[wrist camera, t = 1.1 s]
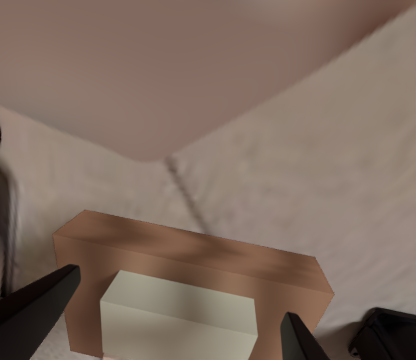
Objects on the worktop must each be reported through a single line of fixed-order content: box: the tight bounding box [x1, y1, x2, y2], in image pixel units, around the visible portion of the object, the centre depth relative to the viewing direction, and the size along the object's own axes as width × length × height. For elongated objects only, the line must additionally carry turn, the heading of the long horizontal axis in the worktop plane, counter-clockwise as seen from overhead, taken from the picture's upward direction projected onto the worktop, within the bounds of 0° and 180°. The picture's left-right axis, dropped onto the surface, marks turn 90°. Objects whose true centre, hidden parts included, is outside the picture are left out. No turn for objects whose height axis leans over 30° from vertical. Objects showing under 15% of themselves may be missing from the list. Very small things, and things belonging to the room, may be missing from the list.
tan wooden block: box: [52, 210, 335, 360], centre depth 18 cm, size 20×14×4 cm
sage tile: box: [100, 270, 258, 360], centre depth 15 cm, size 10×6×2 cm, turn 80°
